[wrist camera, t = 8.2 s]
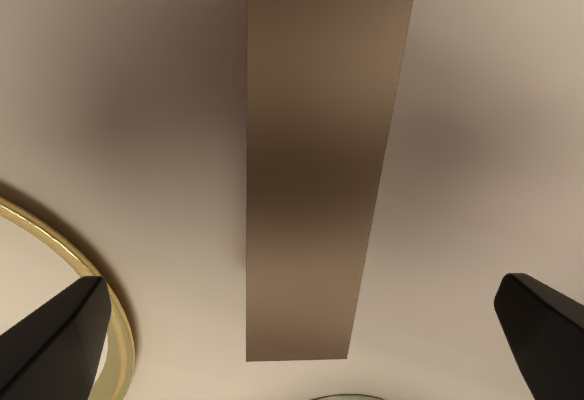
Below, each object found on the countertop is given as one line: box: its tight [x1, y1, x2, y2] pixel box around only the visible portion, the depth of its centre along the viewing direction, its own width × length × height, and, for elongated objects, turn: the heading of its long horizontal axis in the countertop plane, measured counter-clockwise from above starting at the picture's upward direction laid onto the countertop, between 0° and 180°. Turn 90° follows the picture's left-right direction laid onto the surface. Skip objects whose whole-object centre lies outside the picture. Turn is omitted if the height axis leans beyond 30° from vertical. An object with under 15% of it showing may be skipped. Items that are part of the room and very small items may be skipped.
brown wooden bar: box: [246, 0, 413, 362], centre depth 12 cm, size 16×4×6 cm, turn 177°
